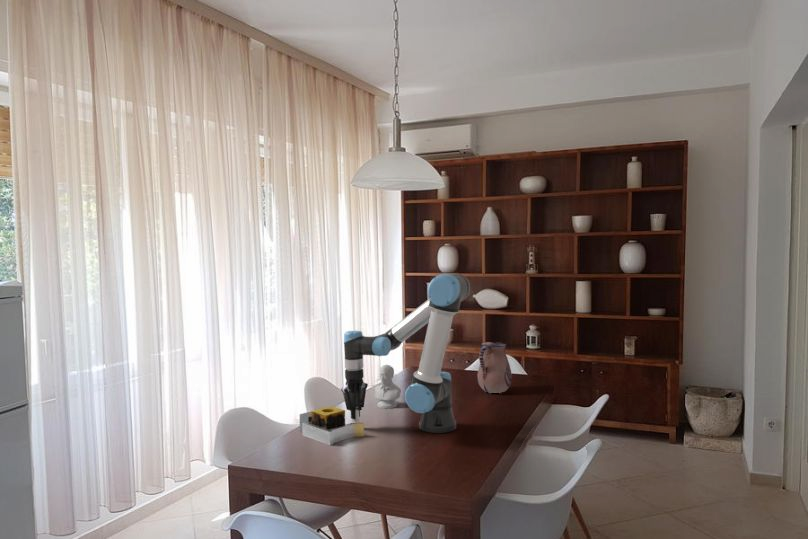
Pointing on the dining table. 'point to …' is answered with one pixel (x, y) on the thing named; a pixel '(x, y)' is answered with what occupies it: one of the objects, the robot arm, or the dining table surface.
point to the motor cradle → (331, 434)
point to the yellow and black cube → (328, 417)
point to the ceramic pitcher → (494, 368)
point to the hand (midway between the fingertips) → (355, 426)
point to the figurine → (387, 388)
